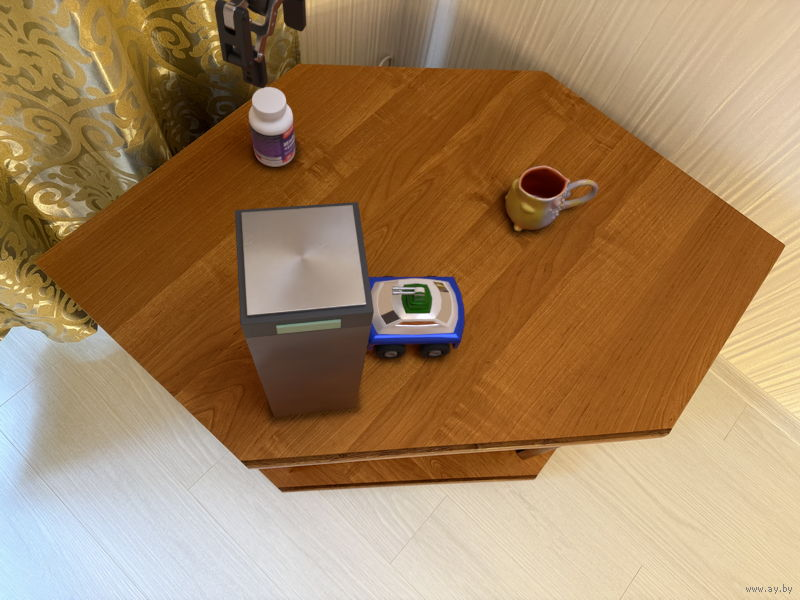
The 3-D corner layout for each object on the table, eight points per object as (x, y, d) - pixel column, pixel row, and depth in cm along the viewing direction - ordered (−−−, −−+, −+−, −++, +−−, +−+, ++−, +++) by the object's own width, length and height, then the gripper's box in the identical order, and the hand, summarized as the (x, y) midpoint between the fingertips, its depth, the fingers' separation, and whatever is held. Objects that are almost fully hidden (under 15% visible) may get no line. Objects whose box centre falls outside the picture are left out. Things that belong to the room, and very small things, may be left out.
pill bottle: (294, 169, 78) (289, 119, 69) (252, 166, 78) (242, 115, 69) (297, 136, 80) (293, 84, 71) (256, 133, 80) (248, 79, 71)
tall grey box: (274, 419, 65) (239, 325, 39) (268, 340, 68) (233, 206, 43) (356, 409, 66) (374, 312, 41) (346, 332, 70) (358, 198, 44)
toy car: (357, 287, 72) (361, 250, 64) (453, 286, 74) (470, 250, 65) (359, 360, 69) (364, 331, 60) (461, 357, 70) (480, 329, 62)
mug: (507, 235, 78) (522, 207, 72) (497, 190, 80) (511, 160, 74) (593, 230, 80) (615, 203, 74) (581, 187, 82) (601, 157, 76)
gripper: (259, -176, 48) (274, -3, 63) (164, -75, 42) (206, 89, 57) (343, -144, 48) (339, 22, 62) (260, -38, 42) (278, 118, 57)
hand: (276, 54), depth 60 cm, fingers open, 8 cm apart
